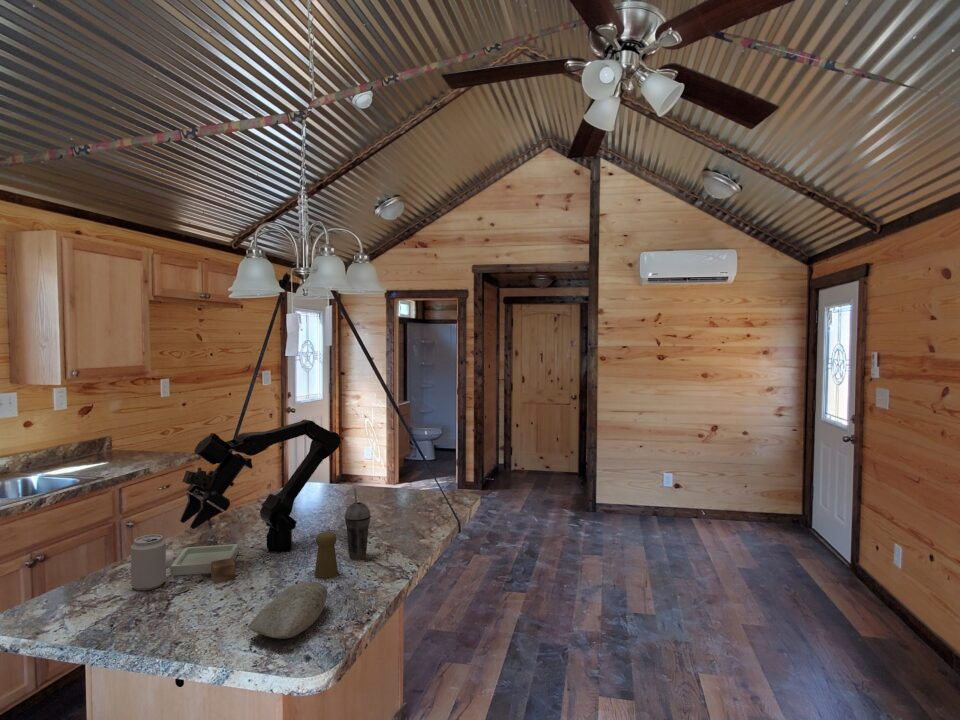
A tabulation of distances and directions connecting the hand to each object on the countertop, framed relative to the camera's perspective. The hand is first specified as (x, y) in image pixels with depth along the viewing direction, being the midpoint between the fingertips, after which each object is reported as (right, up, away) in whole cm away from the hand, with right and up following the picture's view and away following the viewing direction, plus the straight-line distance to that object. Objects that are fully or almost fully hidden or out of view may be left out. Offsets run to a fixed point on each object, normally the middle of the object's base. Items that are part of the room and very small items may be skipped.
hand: (186, 525), depth 148 cm
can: (-6, -13, -7) cm, 16 cm away
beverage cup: (+42, -13, +13) cm, 46 cm away
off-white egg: (-9, -13, +6) cm, 17 cm away
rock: (+37, -14, -26) cm, 48 cm away
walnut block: (+11, -13, -2) cm, 17 cm away
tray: (+2, -13, +7) cm, 15 cm away
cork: (+36, -13, 0) cm, 39 cm away
